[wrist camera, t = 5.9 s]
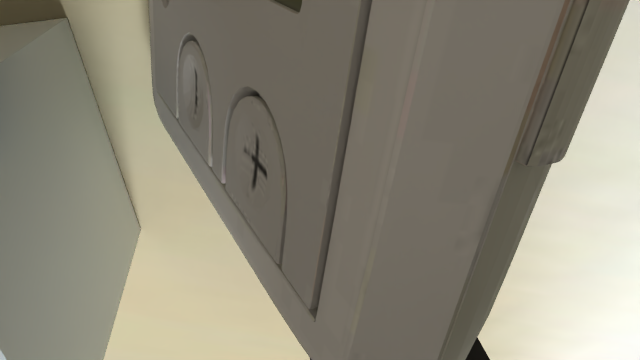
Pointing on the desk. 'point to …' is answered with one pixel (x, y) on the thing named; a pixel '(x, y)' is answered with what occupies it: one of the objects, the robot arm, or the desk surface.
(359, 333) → the digital clock
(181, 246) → the desk surface
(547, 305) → the desk surface
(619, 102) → the desk surface
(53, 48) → the light blue pen cup
